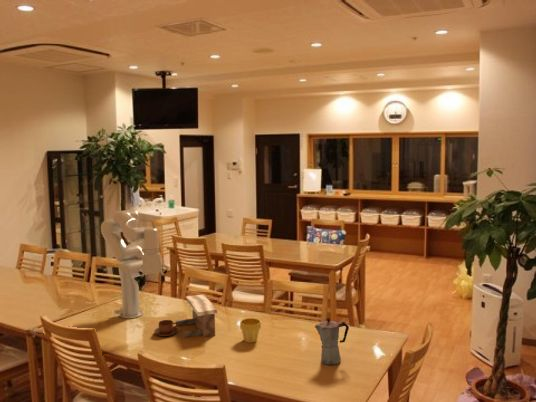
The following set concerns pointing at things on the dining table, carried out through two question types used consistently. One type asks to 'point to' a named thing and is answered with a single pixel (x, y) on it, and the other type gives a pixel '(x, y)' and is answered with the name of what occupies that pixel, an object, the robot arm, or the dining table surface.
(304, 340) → the dining table surface
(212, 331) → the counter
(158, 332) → the cup and saucer
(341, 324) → the moka pot
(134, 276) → the robot arm
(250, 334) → the plant pot
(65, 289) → the dining table surface
